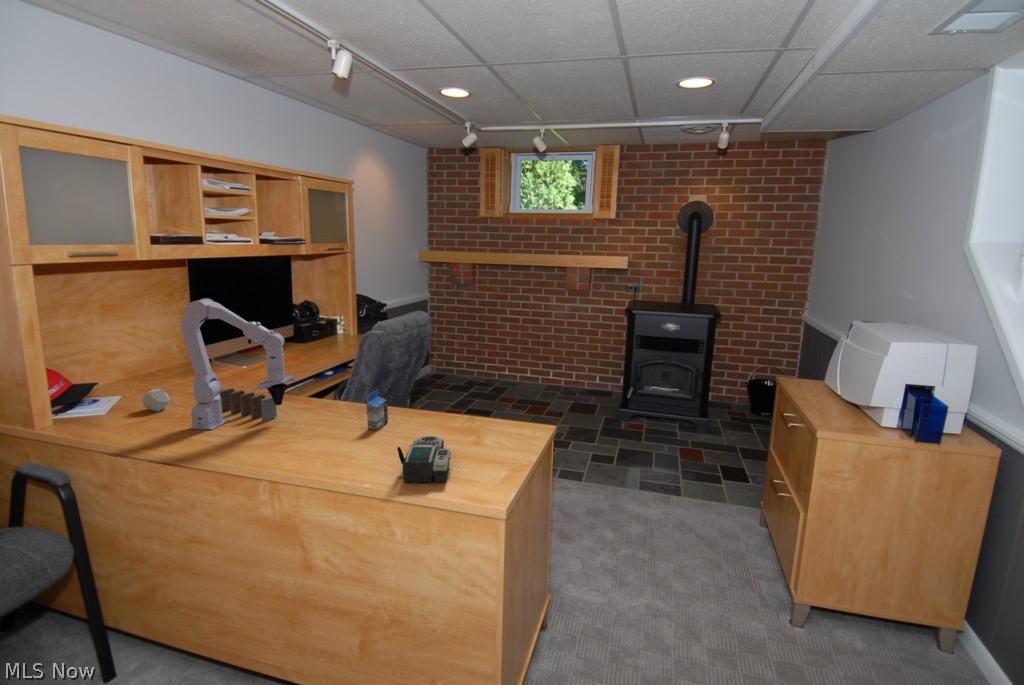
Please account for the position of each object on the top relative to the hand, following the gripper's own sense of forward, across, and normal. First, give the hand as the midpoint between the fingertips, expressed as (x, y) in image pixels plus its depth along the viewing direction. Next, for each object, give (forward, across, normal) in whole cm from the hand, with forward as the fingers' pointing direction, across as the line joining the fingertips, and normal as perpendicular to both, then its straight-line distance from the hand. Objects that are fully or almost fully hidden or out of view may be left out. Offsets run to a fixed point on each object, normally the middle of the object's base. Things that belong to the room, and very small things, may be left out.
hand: (278, 404), depth 190 cm
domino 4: (+6, 0, +10) cm, 12 cm away
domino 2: (+6, 0, +22) cm, 22 cm away
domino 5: (+6, 0, +5) cm, 8 cm away
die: (+7, -12, +50) cm, 52 cm away
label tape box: (+7, +13, -34) cm, 37 cm away
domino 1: (+6, 0, +27) cm, 28 cm away
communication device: (+7, -5, -68) cm, 68 cm away
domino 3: (+6, 0, +16) cm, 17 cm away
